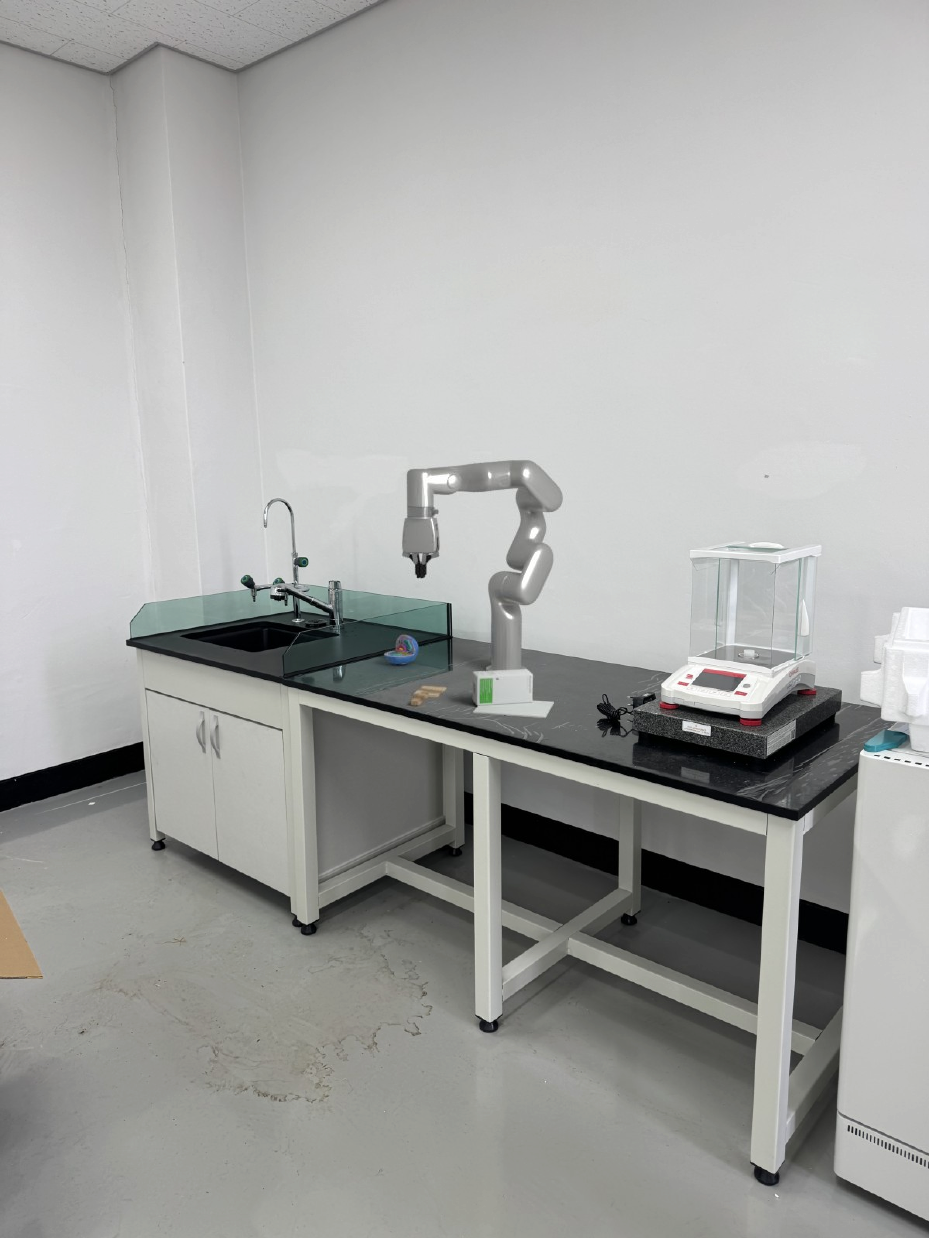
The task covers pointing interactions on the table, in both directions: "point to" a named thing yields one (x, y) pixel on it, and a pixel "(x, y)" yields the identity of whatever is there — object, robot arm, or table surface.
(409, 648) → the cell model
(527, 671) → the skincare box
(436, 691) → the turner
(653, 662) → the table surface
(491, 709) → the mat
